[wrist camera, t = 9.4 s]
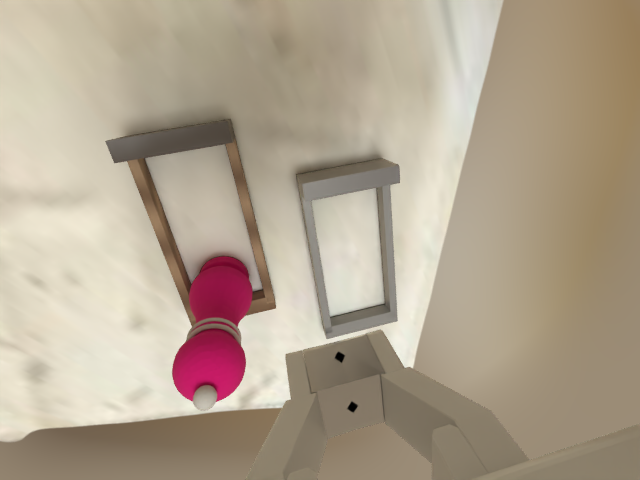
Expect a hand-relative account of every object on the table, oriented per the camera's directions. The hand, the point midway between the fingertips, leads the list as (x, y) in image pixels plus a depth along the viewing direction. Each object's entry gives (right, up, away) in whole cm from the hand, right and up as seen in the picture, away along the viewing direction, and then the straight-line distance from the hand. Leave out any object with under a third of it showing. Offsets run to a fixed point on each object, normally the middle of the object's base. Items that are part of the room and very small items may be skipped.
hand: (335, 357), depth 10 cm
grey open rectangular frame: (+4, +2, +34) cm, 35 cm away
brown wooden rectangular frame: (-14, +5, +29) cm, 33 cm away
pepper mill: (-13, -1, +32) cm, 35 cm away
